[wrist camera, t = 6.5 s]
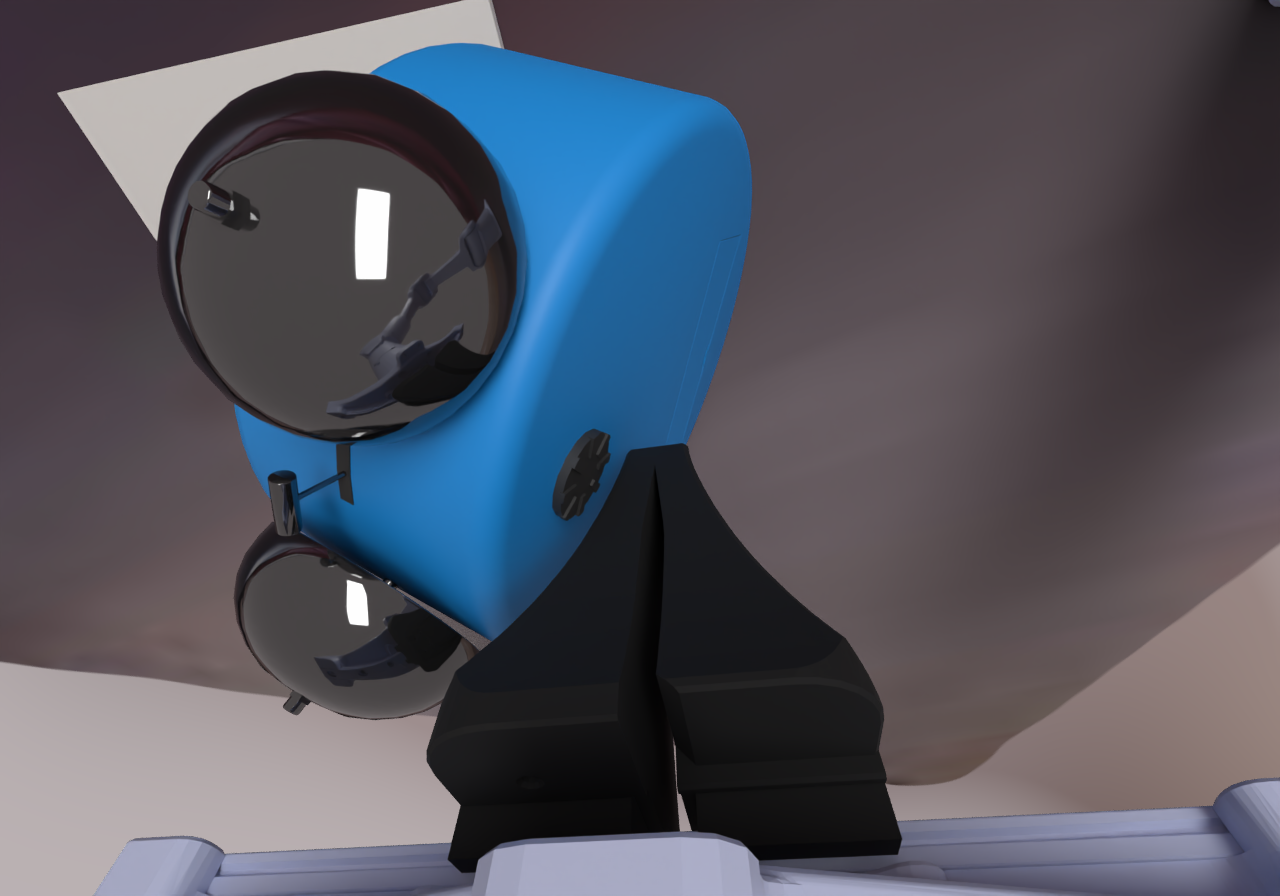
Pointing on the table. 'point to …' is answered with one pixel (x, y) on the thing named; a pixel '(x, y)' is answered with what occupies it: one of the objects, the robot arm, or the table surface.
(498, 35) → the mat
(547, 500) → the alarm clock
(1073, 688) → the table surface
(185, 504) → the table surface
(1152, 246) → the table surface
